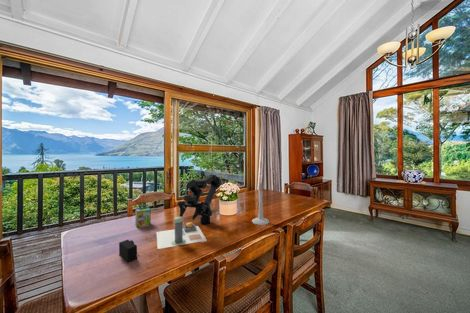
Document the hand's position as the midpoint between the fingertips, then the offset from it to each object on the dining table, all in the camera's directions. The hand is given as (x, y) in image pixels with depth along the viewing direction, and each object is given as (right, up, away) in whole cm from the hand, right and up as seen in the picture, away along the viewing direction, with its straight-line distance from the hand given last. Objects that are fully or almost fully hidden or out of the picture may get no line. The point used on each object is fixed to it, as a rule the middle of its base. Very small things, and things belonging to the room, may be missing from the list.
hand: (186, 218), depth 121 cm
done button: (-1, -9, +10) cm, 14 cm away
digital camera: (-23, -12, -23) cm, 35 cm away
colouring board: (-4, -11, 0) cm, 12 cm away
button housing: (-1, -11, +11) cm, 15 cm away
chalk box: (-36, -11, +19) cm, 42 cm away
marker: (-3, -11, -8) cm, 14 cm away
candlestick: (+49, -11, +26) cm, 57 cm away
